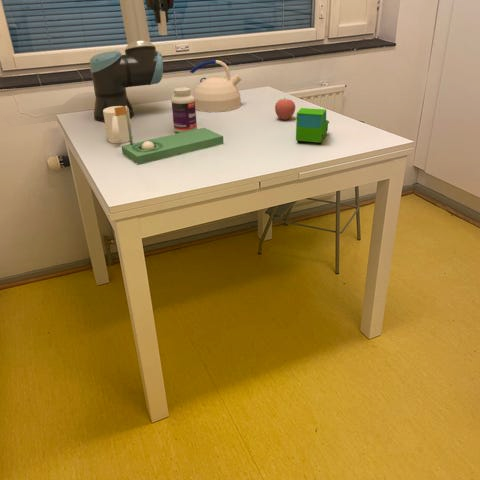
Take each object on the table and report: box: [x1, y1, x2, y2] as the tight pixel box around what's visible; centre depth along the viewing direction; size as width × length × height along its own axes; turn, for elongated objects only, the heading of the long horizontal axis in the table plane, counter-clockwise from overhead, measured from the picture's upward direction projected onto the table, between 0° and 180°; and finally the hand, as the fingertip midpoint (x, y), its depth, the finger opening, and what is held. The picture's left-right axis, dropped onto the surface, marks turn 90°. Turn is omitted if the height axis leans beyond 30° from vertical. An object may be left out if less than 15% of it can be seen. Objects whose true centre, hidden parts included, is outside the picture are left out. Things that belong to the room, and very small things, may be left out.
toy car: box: [295, 107, 330, 145], centre depth 155 cm, size 10×13×10 cm
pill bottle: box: [170, 86, 198, 133], centre depth 164 cm, size 8×8×14 cm
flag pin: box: [114, 106, 134, 145], centre depth 145 cm, size 1×4×12 cm, turn 125°
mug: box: [103, 106, 134, 144], centre depth 157 cm, size 8×10×12 cm
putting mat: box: [121, 127, 224, 165], centre depth 152 cm, size 12×30×2 cm, turn 125°
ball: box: [142, 140, 155, 150], centre depth 147 cm, size 4×4×4 cm
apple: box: [274, 97, 296, 121], centre depth 175 cm, size 7×7×8 cm
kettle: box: [189, 59, 243, 113], centre depth 192 cm, size 20×21×18 cm
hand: (163, 34), depth 145 cm, fingers closed
